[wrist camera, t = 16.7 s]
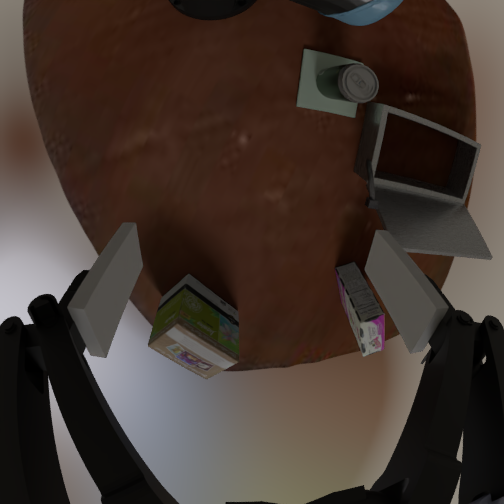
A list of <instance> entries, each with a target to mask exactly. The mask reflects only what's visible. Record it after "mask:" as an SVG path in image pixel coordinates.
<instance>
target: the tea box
mask: <svg viewBox="0 0 504 504" xmlns="http://www.w3.org/2000/svg"><path fill="white" fill-rule="evenodd" d="M148 347H150V348H152V349H154V350H155V351H157V352H159V353H160V354H162V355H164V356H165V357H167V358H169V359H170V360H172V361H174V362H176V363H177V364H179V365H181V366H183V367H184V368H186V369H188V370H190V371H192V372H194V373H195V374H197V375H199V376H201V377H203V378H205V379H208V378H210V377H212V376H214V375H216V374H217V373H219V372H221V371H223V370H225V369H227V368H228V367H230V366H232V365H234V364H236V363H238V362H239V317H238V311H237V310H235V309H234V308H233V307H232V306H230V305H229V304H228V303H226V302H225V301H224V300H223V299H221V298H220V297H218V296H217V295H216V294H214V293H213V292H212V291H211V290H209V289H208V288H207V287H205V286H204V285H203V284H202V283H200V282H199V281H198V280H197V279H195V278H194V277H193V276H191V275H190V274H188V275H187V276H185V277H184V278H183V279H182V280H181V281H180V282H179V283H178V284H176V285H175V286H174V287H173V288H172V289H171V290H170V291H168V292H167V293H166V294H165V295H164V296H163V297H162V298H161V301H160V305H159V307H158V311H157V314H156V318H155V321H154V325H153V328H152V332H151V336H150V339H149V343H148Z"/></svg>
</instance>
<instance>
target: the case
mask: <svg viewBox="0 0 504 504" xmlns="http://www.w3.org/2000/svg"><path fill="white" fill-rule="evenodd" d="M388 113H389V114H393V115H396V116H399V117H402V118H405V119H408V120H410V121H413V122H416V123H419V124H421V125H424V126H427V127H429V128H432V129H434V130H437V131H439V132H442V133H444V134H446V135H449V136H451V137H453V138H455V139H458V140H459V141H458V145H457V149H456V153H455V157H454V161H453V165H452V168H451V172H450V175H449V179H448V182H447V185H446V188H445V187H442V186H438V185H434V184H431V183H427V182H423V181H420V180H416V179H412V178H408V177H404V176H400V175H395V174H391V173H387V172H382V171H377V170H376V166H377V162H378V158H379V154H380V149H381V145H382V140H383V135H384V130H385V125H386V120H387V115H388ZM480 147H481V144H479V143H477V142H475V141H473V140H471V139H469V138H467V137H465V136H463V135H461V134H459V133H457V132H454V131H452V130H450V129H448V128H446V127H443V126H441V125H439V124H436V123H434V122H431V121H429V120H427V119H424V118H421V117H419V116H416V115H414V114H411V113H408V112H405V111H402V110H400V109H397V108H394V107H391V106H388V105H384V104H380V103H374V102H368V101H367V107H366V112H365V118H364V123H363V129H362V134H361V139H360V144H359V149H358V153H357V158H356V163H355V167H354V172H355V173H356V174H358V175H359V176H360V177H361V178H362V179H364V180H365V181H366V182H367V184H366V187H367V190H368V192H369V197H370V198H369V197H367V199H366V202H365V205H366V206H367V207H368V208H372V209H376V211H377V213H378V216H379V218H380V221H381V223H382V226H383V229H384V230H387V231H388V232H389V233H390V234H391V235H392V237H393V238H394V239H395V240H396V241H397V242H398V243H399V245H400V246H401V247H402V248H403V249H404V250H405V252H415V253H426V254H436V255H447V256H457V257H467V258H478V259H488V260H491V259H492V255H491V253H490V251H489V249H488V247H487V245H486V243H485V241H484V239H483V237H482V235H481V233H480V231H479V230H478V228H477V226H476V224H475V222H474V221H473V219H472V217H471V215H470V214H469V212H468V210H467V209H466V207H465V205H464V202H465V200H466V197H467V194H468V190H469V187H470V184H471V181H472V177H473V174H474V171H475V167H476V163H477V159H478V155H479V152H480Z"/></svg>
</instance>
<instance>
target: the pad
mask: <svg viewBox="0 0 504 504" xmlns="http://www.w3.org/2000/svg"><path fill="white" fill-rule="evenodd" d="M351 63H358V64H362V65H363V63H360V62H357V61H354V60H350V59H346V58H343V57H339V56H335V55H331V54H327V53H322V52H318V51H313V50H308V49H304V51H303V59H302V67H301V74H300V82H299V89H298V96H297V103H296V106H297V107H303V108H309V109H315V110H320V111H325V112H330V113H335V114H340V115H344V116H348V117H353V118H355V115H356V109H357V103H353V102H348V101H341V100H335V99H330V98H326V97H325V96H323V95H322V94H321V93H320V92H319V90H318V88H317V86H316V79H317V75H318V74H319V72H320V71H322V70H323V69H326V68H329V67H334V66H339V65H345V64H351Z"/></svg>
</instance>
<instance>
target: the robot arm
mask: <svg viewBox="0 0 504 504" xmlns="http://www.w3.org/2000/svg"><path fill="white" fill-rule="evenodd" d="M169 1H170V3H171V4H172V5H173V6H174V7H175V8H176V9H177V10H178V11H179V12H181V13H182V14H184V15H186V16H189V17H191V18H195V19H200V20H220V19H225V18H229V17H232V16H235V15H238V14H240V13H242V12H243V11H245V10H247V9H248V8H249V7H251V6H252V5H253V4H254V3H255V2H256V1H257V0H169ZM290 1H293V2H296V3H298V4H301V5H304V6H307V7H309V8H312V9H314V10H317V11H318V12H319V13H320V14H322V15H324V16H328V17H333V18H335V19H338V20H340V21H342V22H345V23H347V24H350V25H356V26H363V25H368V24H372V23H374V22H376V21H378V20H380V19H382V18H383V17H385V16H386V15H388V14H389V13H391V12H392V11H393V10H394V9H395V8H396V7H397V6H398V5H399V4H400V3H401V2H402V1H403V0H290ZM142 267H143V263H142V258H141V252H140V246H139V240H138V233H137V227H136V223H122V225H121V226H120V227H119V229H118V230H117V232H116V233H115V234H114V236H113V237H112V239H111V240H110V241H109V243H108V244H107V246H106V247H105V248H104V250H103V251H102V253H101V254H100V256H99V257H98V259H97V260H96V262H95V263H94V265H93V266H92V268H91V269H90V270H83V271H82V272H81V273H79V274H78V275H77V276H76V277H75V279H74V280H73V282H72V283H71V285H70V286H69V288H68V289H67V291H66V292H65V294H64V296H63V297H62V299H61V300H60V302H59V304H58V303H57V300H56V298H55V297H54V296H53V295H51V294H44V295H40V296H38V297H37V298H35V299H34V300H33V301H32V302H31V303H30V304H29V306H28V313H29V315H30V317H31V319H32V321H33V323H34V324H29V325H24V324H23V322H22V320H21V319H20V318H19V317H16V316H13V317H10V318H7V319H6V320H5V321H4V322H3V323H2V324H1V325H0V504H70V501H69V498H68V495H67V492H66V488H65V484H64V481H63V477H62V473H61V469H60V464H59V460H58V455H57V450H56V444H55V439H54V433H53V426H52V418H51V410H50V399H49V385H48V377H49V380H50V383H51V386H52V389H53V392H54V395H55V398H56V401H57V403H58V406H59V409H60V411H61V414H62V416H63V419H64V421H65V424H66V426H67V428H68V431H69V433H70V435H71V438H72V440H73V442H74V444H75V446H76V448H77V450H78V452H79V454H80V456H81V458H82V460H83V462H84V464H85V466H86V468H87V470H88V471H89V473H90V475H91V477H92V478H93V480H94V482H95V484H96V485H97V487H98V489H99V490H100V492H101V495H102V497H101V502H102V504H179V503H178V502H177V501H176V500H175V499H174V498H173V497H172V496H171V495H170V494H169V493H168V492H167V491H166V489H165V488H164V487H163V486H162V485H161V483H160V482H159V481H158V480H157V478H156V477H155V476H154V474H153V473H152V472H151V470H150V469H149V468H148V466H147V465H146V464H145V462H144V461H143V460H142V458H141V457H140V455H139V454H138V452H137V451H136V449H135V448H134V446H133V445H132V443H131V442H130V440H129V439H128V437H127V436H126V434H125V432H124V431H123V429H122V427H121V426H120V424H119V422H118V421H117V419H116V417H115V416H114V414H113V412H112V410H111V409H110V407H109V405H108V403H107V401H106V399H105V398H104V396H103V394H102V392H101V390H100V388H99V386H98V384H97V382H96V380H95V378H94V376H93V374H92V372H91V369H90V367H89V365H88V363H87V361H86V358H85V357H84V355H83V352H84V350H85V348H87V349H88V351H89V353H90V355H91V356H97V357H104V358H106V357H107V354H108V351H109V348H110V346H111V343H112V340H113V337H114V335H115V332H116V330H117V327H118V324H119V321H120V319H121V316H122V314H123V312H124V309H125V307H126V304H127V302H128V299H129V297H130V295H131V292H132V290H133V288H134V285H135V283H136V281H137V278H138V276H139V274H140V272H141V269H142ZM364 270H365V272H366V274H367V275H368V277H369V279H370V280H371V282H372V284H373V285H374V287H375V289H376V291H377V292H378V294H379V296H380V298H381V299H382V301H383V303H384V305H385V307H386V308H387V310H388V312H389V314H390V316H391V317H392V319H393V321H394V323H395V325H396V327H397V329H398V331H399V332H400V334H401V336H402V338H403V340H404V342H405V344H406V346H407V348H408V350H409V352H410V353H416V352H421V351H423V349H424V348H425V346H426V345H427V343H428V342H429V344H430V346H431V349H430V350H429V352H428V353H427V355H426V356H425V357H424V359H423V360H422V362H421V364H423V363H424V362H425V361H426V363H425V366H424V370H423V373H422V377H421V380H420V384H419V387H418V390H417V393H416V396H415V399H414V402H413V405H412V408H411V411H410V414H409V416H408V419H407V422H406V425H405V427H404V429H403V432H402V434H401V437H400V439H399V442H398V444H397V446H396V448H395V451H394V453H393V455H392V457H391V460H390V462H389V463H388V465H387V468H386V470H385V471H384V473H383V474H382V475H381V476H380V477H379V479H378V480H377V481H376V482H375V483H374V485H373V486H372V488H371V489H370V490H365V489H364V485H363V486H359V487H355V488H351V489H346V490H342V491H338V492H333V493H331V494H328V495H326V496H324V497H321V498H319V499H316V500H314V501H311V502H309V503H306V504H450V503H451V500H452V498H453V495H454V492H455V489H456V486H457V483H458V480H459V477H460V474H461V478H460V487H459V503H458V504H504V329H503V326H502V324H501V323H500V322H499V320H498V319H496V318H495V317H493V316H489V315H488V316H486V317H485V318H484V320H483V321H482V323H477V322H474V321H473V319H472V318H471V317H470V316H469V314H467V313H466V312H463V311H461V310H455V309H454V308H453V306H452V305H451V303H450V302H449V301H448V299H447V298H446V297H445V295H444V294H442V291H441V290H440V289H439V288H438V286H437V285H436V284H435V282H434V281H433V280H432V279H431V278H429V277H428V276H427V275H424V274H423V272H422V271H421V270H420V269H419V267H418V266H417V265H416V264H415V262H414V261H413V260H412V259H411V258H410V256H409V255H408V254H407V253H406V252H405V250H404V249H403V248H402V247H401V246H400V245H399V243H398V242H397V241H396V240H395V239H394V238H393V237H392V235H391V234H390V233H389V232H388V231H387V230H376V232H375V235H374V239H373V243H372V246H371V249H370V253H369V256H368V259H367V263H366V266H365V269H364ZM485 356H486V362H485V363H484V364H483V362H482V359H483V358H484V357H485ZM462 432H463V455H462V463H461V462H460V461H458V460H457V458H456V457H457V452H458V448H459V444H460V440H461V436H462ZM226 504H276V503H268V502H262V501H260V502H226Z"/></svg>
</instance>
